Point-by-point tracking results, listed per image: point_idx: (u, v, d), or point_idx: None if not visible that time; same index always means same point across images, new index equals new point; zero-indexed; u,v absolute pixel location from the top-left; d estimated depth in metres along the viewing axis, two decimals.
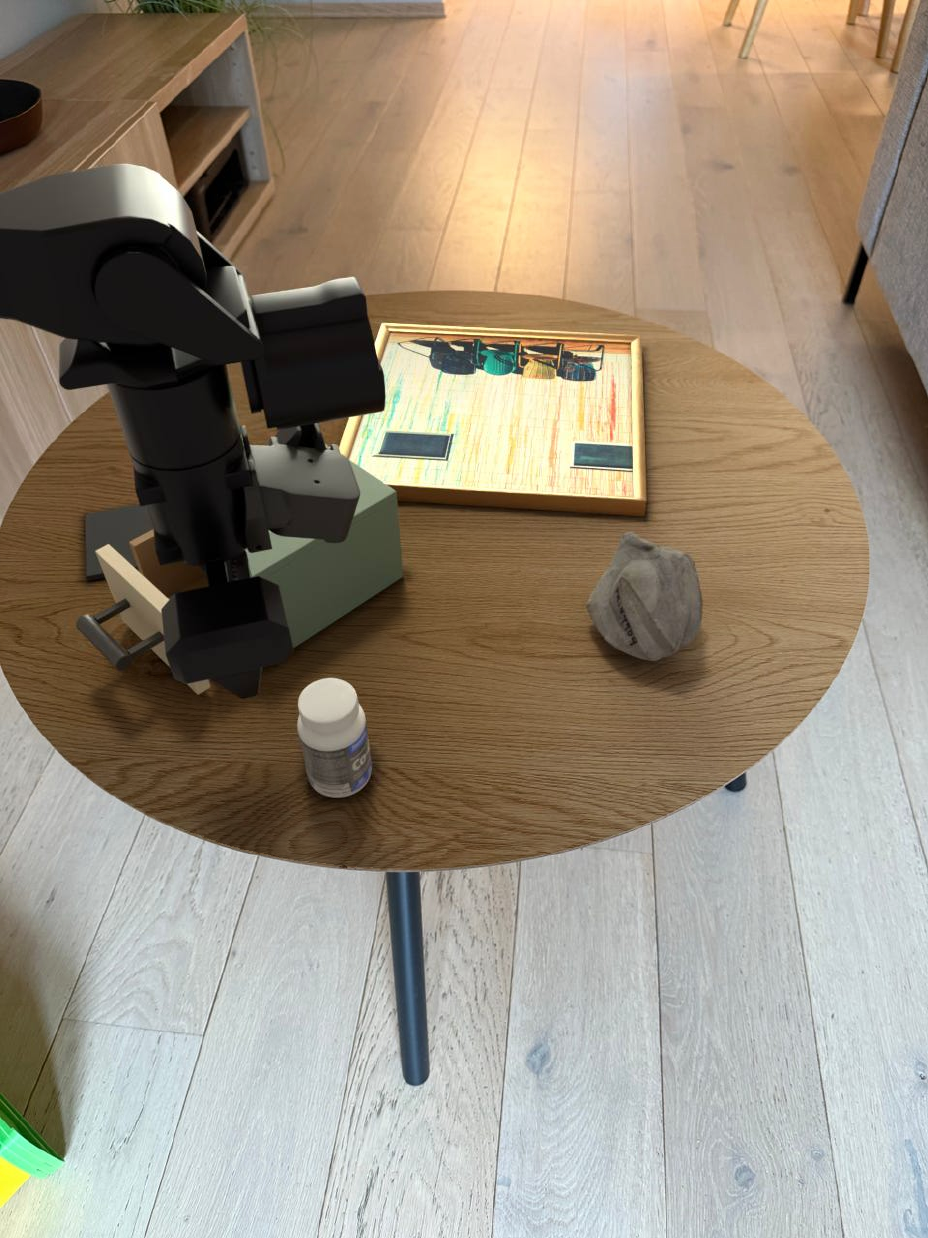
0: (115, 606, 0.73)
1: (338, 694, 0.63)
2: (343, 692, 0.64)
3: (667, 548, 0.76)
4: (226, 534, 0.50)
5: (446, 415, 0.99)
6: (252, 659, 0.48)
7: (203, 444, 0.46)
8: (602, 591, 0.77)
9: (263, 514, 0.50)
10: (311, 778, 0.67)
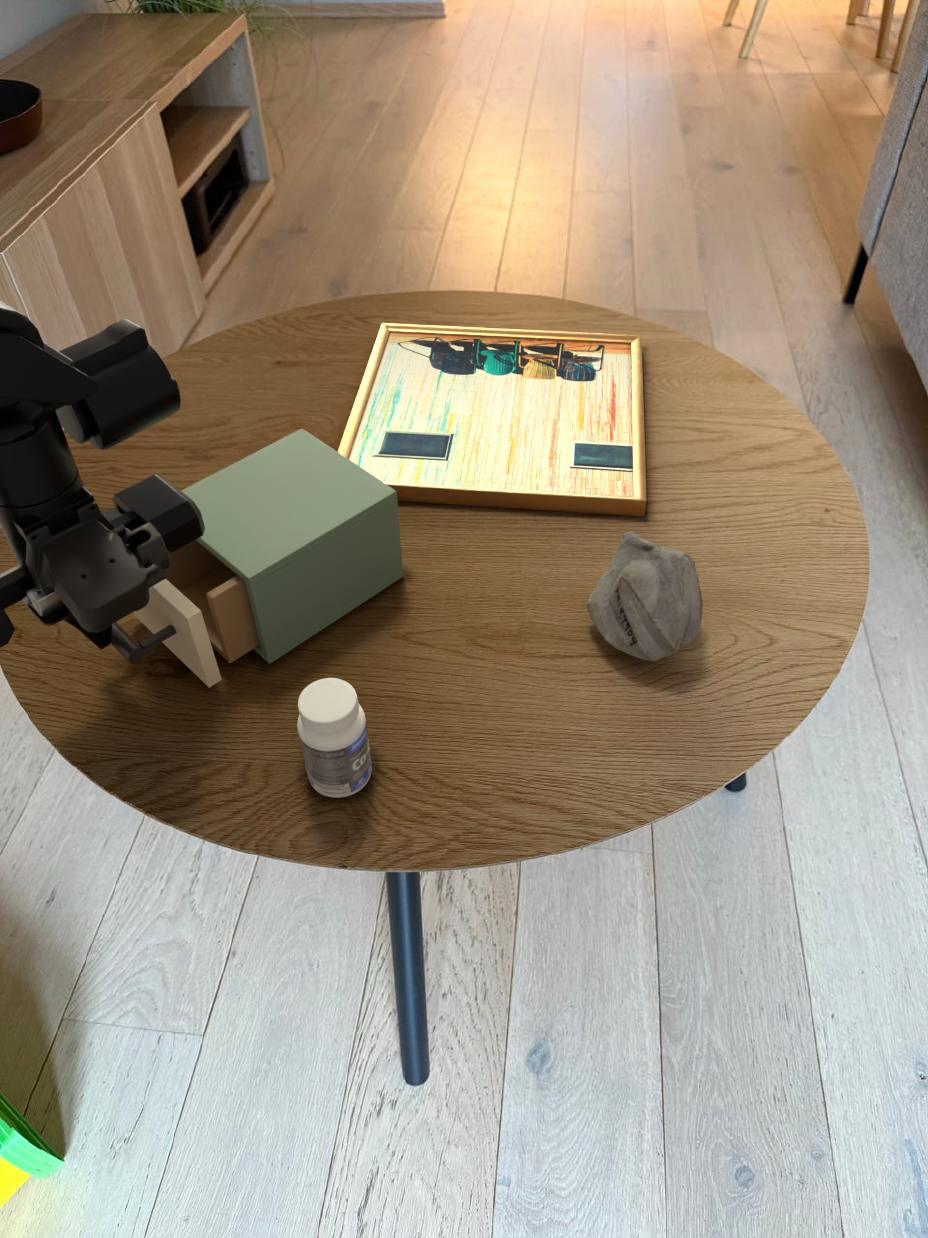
0: None
1: (338, 694, 0.63)
2: (343, 692, 0.64)
3: (667, 548, 0.76)
4: (24, 560, 0.62)
5: (446, 415, 0.99)
6: None
7: (61, 474, 0.58)
8: (602, 591, 0.77)
9: (32, 566, 0.60)
10: (311, 778, 0.67)
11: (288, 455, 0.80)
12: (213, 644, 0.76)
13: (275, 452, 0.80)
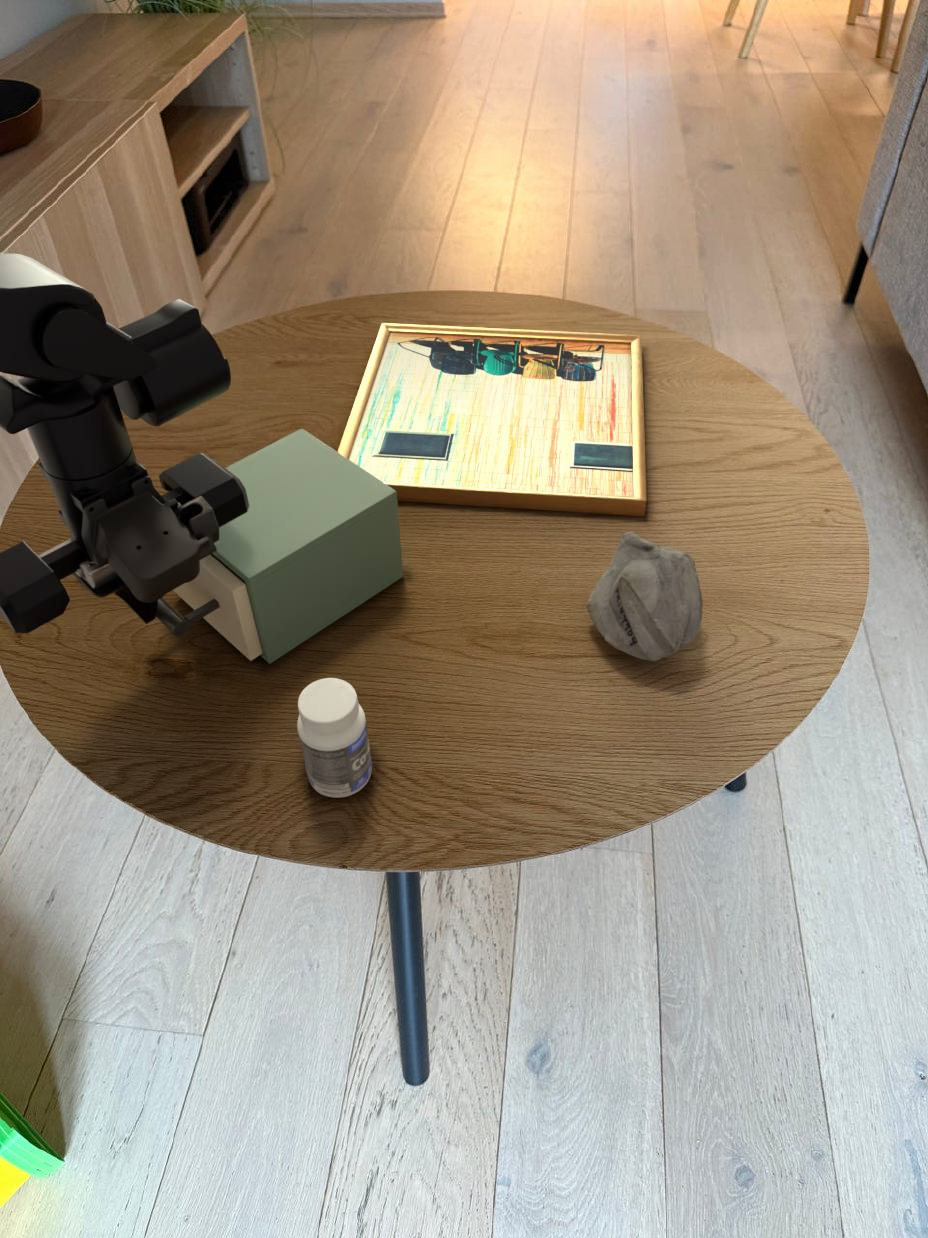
0: None
1: (338, 694, 0.63)
2: (342, 692, 0.64)
3: (667, 548, 0.76)
4: (79, 533, 0.64)
5: (446, 415, 0.99)
6: (1, 613, 0.62)
7: (117, 449, 0.60)
8: (602, 591, 0.77)
9: (88, 538, 0.62)
10: (311, 778, 0.67)
11: (288, 455, 0.80)
12: None
13: (275, 452, 0.80)
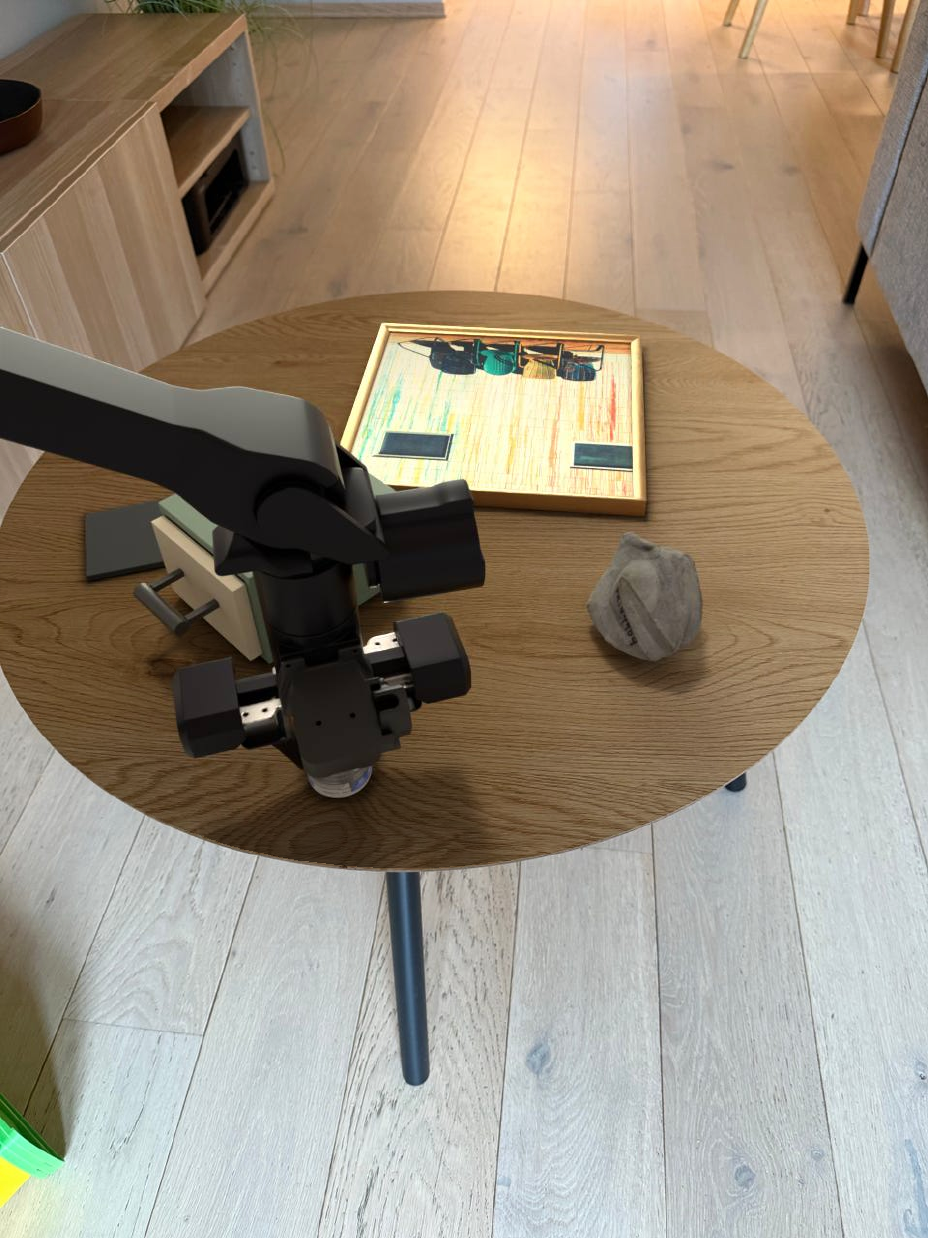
0: (170, 575, 0.76)
1: None
2: None
3: (667, 548, 0.76)
4: (278, 674, 0.59)
5: (446, 415, 0.99)
6: None
7: (328, 617, 0.54)
8: (602, 590, 0.77)
9: (278, 689, 0.57)
10: (311, 778, 0.67)
11: None
12: None
13: None
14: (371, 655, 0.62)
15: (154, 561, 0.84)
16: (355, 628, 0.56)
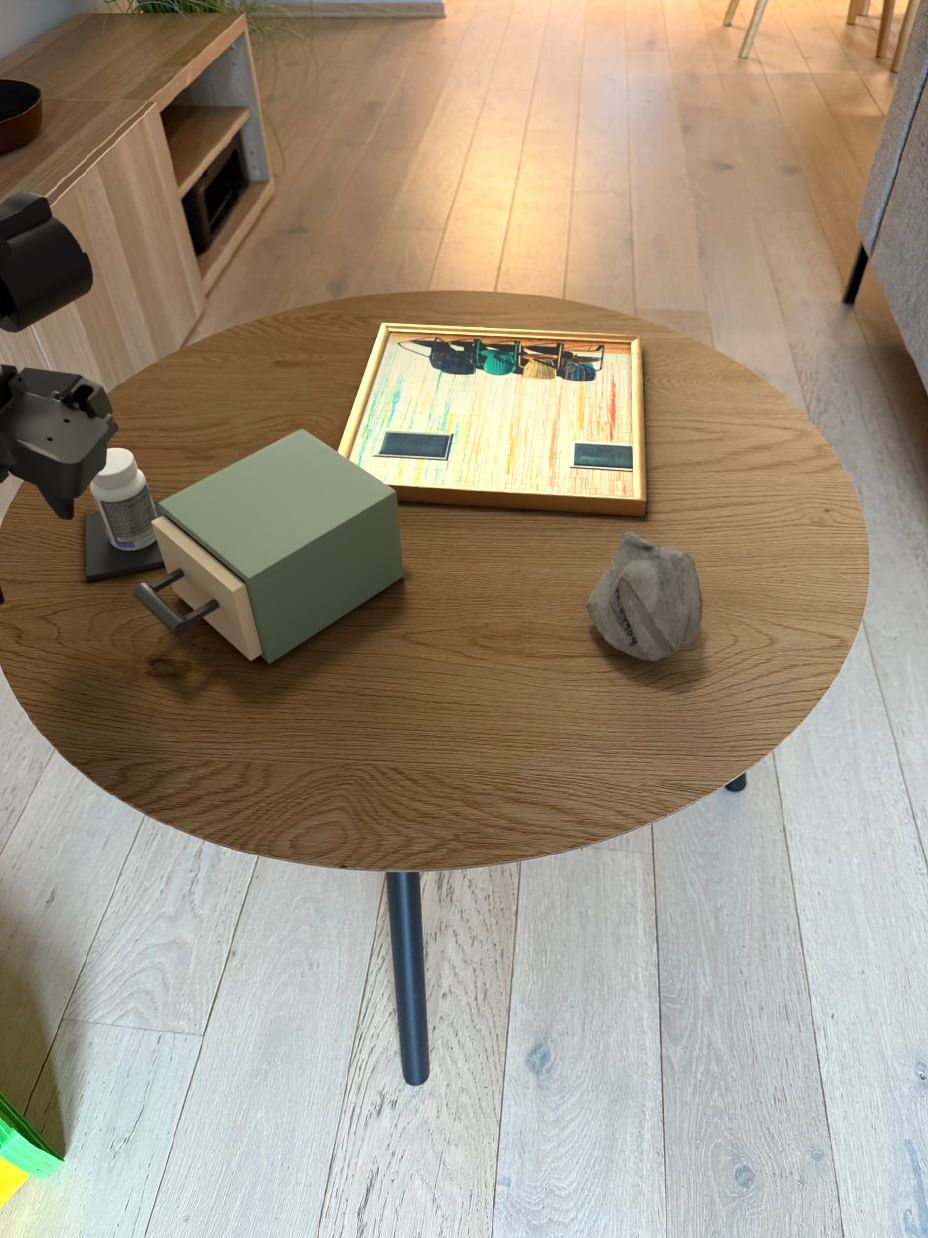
0: (170, 575, 0.76)
1: (112, 455, 0.82)
2: (112, 452, 0.82)
3: (667, 548, 0.76)
4: None
5: (446, 415, 0.99)
6: None
7: None
8: (602, 591, 0.77)
9: None
10: (130, 538, 0.84)
11: (288, 455, 0.80)
12: None
13: (275, 452, 0.80)
14: None
15: (154, 561, 0.84)
16: (2, 364, 0.59)
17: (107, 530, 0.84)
